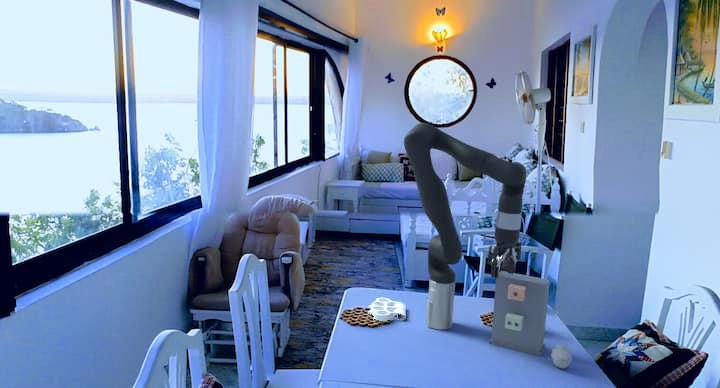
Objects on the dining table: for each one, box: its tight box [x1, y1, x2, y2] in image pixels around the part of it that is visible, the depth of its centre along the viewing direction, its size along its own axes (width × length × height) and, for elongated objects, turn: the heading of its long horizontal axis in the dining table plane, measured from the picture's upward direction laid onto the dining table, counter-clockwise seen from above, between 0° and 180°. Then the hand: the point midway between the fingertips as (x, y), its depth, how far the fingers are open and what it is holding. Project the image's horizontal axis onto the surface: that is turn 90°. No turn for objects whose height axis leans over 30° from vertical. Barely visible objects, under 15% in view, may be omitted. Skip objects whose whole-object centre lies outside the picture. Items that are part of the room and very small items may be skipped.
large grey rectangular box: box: [488, 270, 551, 358], centre depth 175 cm, size 8×17×24 cm, turn 60°
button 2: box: [505, 313, 524, 331], centre depth 169 cm, size 3×5×4 cm
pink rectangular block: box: [507, 284, 526, 302], centre depth 167 cm, size 3×5×4 cm
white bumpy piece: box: [367, 297, 407, 322], centre depth 201 cm, size 3×18×15 cm
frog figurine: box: [550, 343, 573, 369], centre depth 163 cm, size 6×7×7 cm
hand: (502, 275), depth 167 cm, fingers open, 8 cm apart
